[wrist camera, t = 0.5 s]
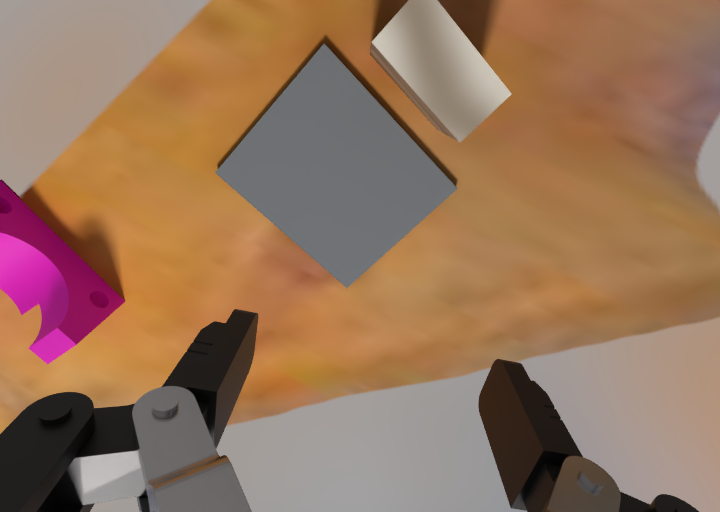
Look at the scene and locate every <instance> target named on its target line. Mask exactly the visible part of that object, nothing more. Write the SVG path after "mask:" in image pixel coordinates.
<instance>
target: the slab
mask: <svg viewBox="0 0 720 512" xmlns="http://www.w3.org/2000/svg"><path fill="white" fill-rule="evenodd" d="M370 55H371V56H372V57H373V58H374V59H375V60H376V62H377V63H378V64H379V65H380V66H381V67H382V68H383V70H384V71H385V72H386V73H387V74H388V75H389V76H390V77H391V79H392V80H393V81H394V82H395V83H396V84H397V85H398V86H399V88H400V89H401V90H402V91H403V92H404V93H405V94H406V95H407V97H408V98H409V99H410V100H411V101H412V102H413V103H414V104H415V106H416V107H417V108H418V109H419V110H420V111H421V112H422V113H423V115H424V116H425V117H426V118H427V119H428V120H429V121H430V122H431V124H432V125H433V126H434V127H435V128H436V129H437V130H439V131H441V132H443V133H444V134H446V135H448V136H450V137H451V138H453V139H455V140H457V141H459V142H461V141H462V140H463V139H464V138H465V137H467V136H468V135H469V134H470V133H471V132H472V131H473V130H474V129H475V128H476V127H477V126H478V125H479V124H480V123H481V122H482V121H484V120H485V119H486V118H487V117H488V116H489V115H490V114H491V113H492V112H493V111H494V110H495V109H496V108H497V107H498V106H499V105H501V104H502V103H503V102H504V101H505V100H506V99H507V98H508V97H509V96H510V95H511V93H510V91H509V90H508V89H507V88H506V86H505V85H504V84H503V82H502V81H501V80H500V79H499V77H498V76H497V75H496V74H495V72H494V71H493V70H492V69H491V67H490V66H489V65H488V64H487V62H486V61H485V60H484V58H483V57H482V56H481V55H480V53H479V52H478V51H477V50H476V48H475V47H474V46H473V45H472V43H471V42H470V41H469V39H468V38H467V37H466V36H465V34H464V33H463V32H462V31H461V29H460V28H459V27H458V26H457V24H456V23H455V22H454V21H453V19H452V18H451V17H450V15H449V14H448V13H447V12H446V10H445V9H444V8H443V7H442V5H441V4H440V3H439V2H438V0H408V1H407V3H406V4H405V5H404V6H403V7H402V8H401V9H400V10H399V12H398V13H397V14H396V15H395V16H394V17H393V18H392V20H391V21H390V22H389V23H388V24H387V25H386V26H385V27H384V29H383V30H382V31H381V32H380V33H379V34H378V35H377V36H376V38H375V39H374V40H373V41H372V44H371V51H370Z"/></svg>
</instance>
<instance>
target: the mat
mask: <svg viewBox="0 0 720 512" xmlns="http://www.w3.org/2000/svg"><path fill="white" fill-rule="evenodd" d="M215 173H216V174H217V175H218V176H220V177H221V178H222V179H223V180H224V181H225V182H226V183H228V184H229V185H230V186H231V187H232V188H233V189H234V190H236V191H237V192H238V193H239V194H240V195H241V196H242V197H244V198H245V199H246V200H247V201H248V202H249V203H250V204H252V205H253V206H254V207H255V208H256V209H257V210H258V211H260V212H261V213H262V214H263V215H264V216H265V217H266V218H268V219H269V220H270V221H271V222H272V223H273V224H274V225H276V226H277V227H278V228H279V229H280V230H281V231H282V232H284V233H285V234H286V235H287V236H288V237H289V238H290V239H292V240H293V241H294V242H295V243H296V244H297V245H298V246H300V247H301V248H302V249H303V250H304V251H305V252H306V253H308V254H309V255H310V256H311V257H312V258H313V259H314V260H316V261H317V262H318V263H319V264H320V265H321V266H322V267H324V268H325V269H326V270H327V271H328V272H329V273H330V274H332V275H333V276H334V277H335V278H336V279H337V280H338V281H340V282H341V283H342V284H343V285H344V286H345V287H346V288H348V287H349V286H350V285H351V284H352V283H353V282H354V281H355V280H356V279H358V278H359V277H360V276H361V275H362V274H363V273H364V272H365V271H366V270H368V269H369V268H370V267H371V266H372V265H373V264H374V263H375V262H376V261H378V260H379V259H380V258H381V257H382V256H383V255H384V254H385V253H386V252H388V251H389V250H390V249H391V248H392V247H393V246H394V245H395V244H396V243H398V242H399V241H400V240H401V239H402V238H403V237H404V236H405V235H406V234H408V233H409V232H410V231H411V230H412V229H413V228H414V227H415V226H416V225H418V224H419V223H420V222H421V221H422V220H423V219H424V218H425V217H426V216H428V215H429V214H430V213H431V212H432V211H433V210H434V209H435V208H436V207H438V206H439V205H440V204H441V203H442V202H443V201H444V200H445V199H446V198H448V197H449V196H450V195H451V194H452V193H453V192H454V191H455V190H456V189H457V187H456V186H455V185H454V184H453V183H452V182H451V181H450V180H449V179H448V178H447V177H446V175H445V174H444V173H443V172H442V171H441V170H440V169H439V168H438V167H437V166H436V165H435V163H434V162H433V161H432V160H431V159H430V158H429V157H428V156H427V155H426V154H425V153H424V152H423V150H422V149H421V148H420V147H419V146H418V145H417V144H416V143H415V142H414V141H413V140H412V138H411V137H410V136H409V135H408V134H407V133H406V132H405V131H404V130H403V129H402V128H401V126H400V125H399V124H398V123H397V122H396V121H395V120H394V119H393V118H392V117H391V116H390V115H389V113H388V112H387V111H386V110H385V109H384V108H383V107H382V106H381V105H380V104H379V103H378V101H377V100H376V99H375V98H374V97H373V96H372V95H371V94H370V93H369V92H368V91H367V89H366V88H365V87H364V86H363V85H362V84H361V83H360V82H359V81H358V80H357V79H356V78H355V76H354V75H353V74H352V73H351V72H350V71H349V70H348V69H347V68H346V67H345V66H344V64H343V63H342V62H341V61H340V60H339V59H338V58H337V57H336V56H335V55H334V54H333V52H332V51H331V50H330V49H329V48H328V47H327V46H326V45H325V44H323V45H322V47H321V48H320V49H319V50H318V51H317V52H316V54H315V55H314V56H313V57H312V58H311V60H310V61H309V62H308V63H307V64H306V66H305V67H304V68H303V69H302V70H301V71H300V73H299V74H298V75H297V76H296V77H295V79H294V80H293V81H292V82H291V83H290V84H289V86H288V87H287V88H286V89H285V90H284V92H283V93H282V94H281V95H280V96H279V98H278V99H277V100H276V101H275V102H274V103H273V105H272V106H271V107H270V108H269V109H268V111H267V112H266V113H265V114H264V115H263V116H262V118H261V119H260V120H259V121H258V122H257V124H256V125H255V126H254V127H253V128H252V130H251V131H250V132H249V133H248V134H247V135H246V137H245V138H244V139H243V140H242V141H241V143H240V144H239V145H238V146H237V147H236V149H235V150H234V151H233V152H232V153H231V154H230V156H229V157H228V158H227V159H226V160H225V162H224V163H223V164H222V165H221V166H220V167H219V169H218V170H217V171H216V172H215Z"/></svg>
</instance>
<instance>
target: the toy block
mask: <svg viewBox="0 0 720 512" xmlns="http://www.w3.org/2000/svg"><path fill="white" fill-rule="evenodd" d="M0 289H2V290H3V291H4V292H5V293H6V294H7V295H8V296H9V297H10V298H11V299H12V300H13V301H14V303H15V304H16V305H17V307H18V309H19V310H20V313H21V315H23V314H24V313H26V312H27V311H29V310H30V309H32V308H33V307H35V306H36V305H38V304H39V305H40V308H41V313H42V323H41V328H40V331H39V334H38V336H37V338H36V340H35V341H34V342H33V344H32V345H31V346H30V347H29V349H30V350H31V351H33V352H34V353H35V354H36V355H37V356H38V357H40V358H41V359H42V360H43V361H44V362H46V363H47V364H49V363H50V362H52V361H53V360H55V359H56V358H58V357H59V356H60V355H62V354H63V353H65V352H66V351H68V350H69V349H71V348H72V347H74V346H75V345H77V344H78V343H79V342H80V341H81V340H82V339H83V338H84V337H86V336H87V335H88V334H89V333H90V332H91V331H92V330H93V329H95V328H96V327H97V326H98V325H99V324H100V323H101V322H102V321H104V320H105V319H106V318H107V317H108V316H109V315H110V314H112V313H113V312H114V311H115V310H116V309H117V308H118V307H119V306H121V305H122V304H123V303H124V302H125V301H124V300H123V299H122V298H121V297H120V296H119V295H118V294H117V293H116V292H115V291H114V290H113V289H112V288H111V287H110V286H109V285H108V284H107V283H106V282H105V281H104V280H103V279H102V278H101V277H100V276H99V275H98V274H97V273H95V272H94V271H93V270H92V269H91V268H90V267H89V266H88V265H87V264H86V263H85V262H84V261H83V260H82V259H81V258H80V257H79V256H78V255H77V254H76V253H75V252H74V251H73V250H72V249H71V248H70V247H69V246H68V245H67V244H66V243H65V242H64V241H63V240H62V239H61V238H59V237H58V236H57V235H56V234H55V233H54V232H53V231H52V230H51V229H50V228H49V227H48V226H47V225H46V224H45V223H44V222H43V221H42V220H41V219H40V218H39V217H38V216H37V215H36V214H35V213H34V212H33V211H32V210H31V209H30V208H29V207H28V206H27V205H26V204H25V203H24V202H22V201H21V200H20V199H19V196H18V195H17V194H16V193H15V192H14V191H13V190H12V189H11V188H10V187H9V186H8V185H7V184H6V183H5V182H4V181H3V180H0Z"/></svg>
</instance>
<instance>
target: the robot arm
mask: <svg viewBox="0 0 720 512" xmlns="http://www.w3.org/2000/svg"><path fill="white" fill-rule="evenodd" d="M257 324H258V313H253V312H248V311H243V310H237V309H235V310H234V311H233V312H232V314H231V316H230V317H229V319H228V320H227V322H226V323H221V322H215V321H214V322H213V323H211V324H209V325H208V326H206V327H205V328H203V329H202V330H201V331H200V332H199V334H198V335H197V337H196V338H195V340H194V342H193V343H192V344H191V345H190V347H189V348H188V350H187V352H186V353H185V354H184V356H183V357H182V358H181V360H180V361H179V363H178V364H177V366H176V367H175V369H174V370H173V372H172V373H171V374H170V376H169V377H168V379H167V380H166V382H165V383H164V385H163V386H162V387H160V388H157V389H154V390H151V391H149V392H148V393H146V394H144V395H143V396H142V397H140V399H139V400H138V401H137V402H136V403H135V404H131V405H127V406H118V407H106V408H94V406H93V402H92V400H91V399H90V398H89V397H87V396H86V395H84V394H81V393H76V392H64V393H57V394H53V395H50V396H47V397H44V398H42V399H40V400H38V401H36V402H34V403H32V404H31V405H30V406H28V407H27V408H26V409H25V410H23V411H22V412H21V413H20V414H19V416H18V417H17V418H16V419H15V420H14V421H13V422H12V423H11V424H10V425H9V426H8V427H7V428H6V429H5V430H4V431H3V432H2V433H1V434H0V512H90V510H91V509H92V507H93V505H94V504H95V503H99V502H105V501H111V500H117V499H124V498H130V497H136V496H137V501H138V506H139V511H140V512H252V511H251V509H250V507H249V504H248V502H247V499H246V497H245V495H244V492H243V490H242V488H241V485H240V483H239V481H238V478H237V476H236V474H235V471H234V469H233V466H232V464H231V462H230V461H229V459H228V457H227V456H225V455H224V456H221V457H220V456H219V455H218V453H217V451H216V448H217V445H218V443H219V441H220V439H221V436H222V434H223V432H224V429H225V427H226V425H227V422H228V420H229V418H230V415H231V413H232V410H233V408H234V406H235V403H236V401H237V399H238V396H239V394H240V392H241V389H242V387H243V384H244V382H245V380H246V377H247V375H248V373H249V370H250V367H251V364H252V360H253V356H254V350H255V341H256V332H257ZM479 412H480V416H481V419H482V422H483V424H484V428H485V431H486V434H487V437H488V440H489V443H490V446H491V449H492V452H493V455H494V458H495V461H496V464H497V467H498V470H499V473H500V476H501V479H502V482H503V485H504V489H505V492H506V495H507V497H508V500H509V504H510V507H511V508H514V509H520V510H527V512H699V511H698V510H696V509H695V508H694V507H692V506H691V505H690V504H688V503H686V502H685V501H683V500H681V499H679V498H677V497H674V496H671V495H666V494H661V495H658V496H657V497H656V498H655V499H654V500H653V502H652V503H651V504H650V505H649V504H647V503H645V502H642V501H640V500H638V499H636V498H633V497H631V496H629V495H627V494H624V493H622V492H620V491H619V488H618V486H617V484H616V483H615V481H614V480H613V479H612V477H611V476H610V475H609V474H608V473H607V472H606V471H605V470H604V469H602V468H601V467H600V466H598V465H597V464H595V463H594V462H592V461H590V460H588V459H586V458H583V456H582V455H581V453H580V451H579V450H578V448H577V446H576V444H575V442H574V440H573V439H572V437H571V435H570V434H569V432H568V430H567V428H566V427H565V425H564V423H563V421H562V420H560V416H559V414H558V412H557V410H556V409H554V405H553V403H552V402H551V400H550V398H549V396H548V395H547V393H546V392H545V391H544V390H543V389H542V388H541V387H540V386H539V385H538V384H537V383H536V382H535V381H531V380H530V378H529V377H528V375H527V373H526V371H525V369H524V367H523V366H522V364H520V363H517V362H511V361H506V360H501V359H497V360H495V361H494V363H493V365H492V367H491V370H490V372H489V375H488V377H487V379H486V381H485V384H484V386H483V388H482V390H481V393H480V396H479Z"/></svg>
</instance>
